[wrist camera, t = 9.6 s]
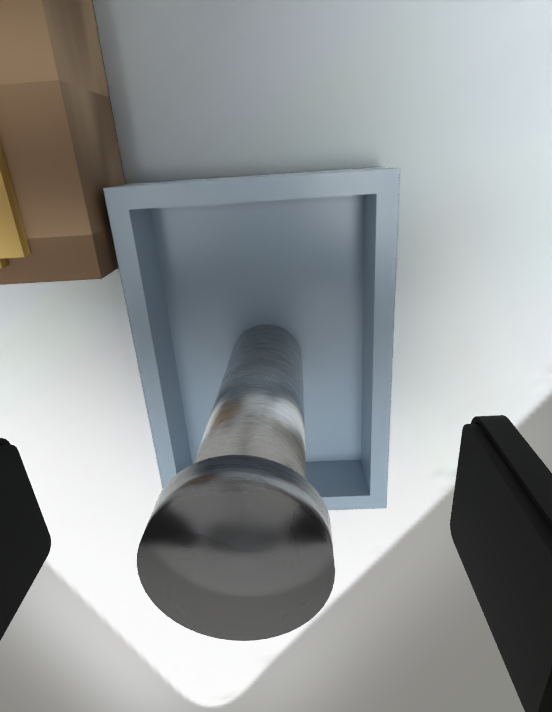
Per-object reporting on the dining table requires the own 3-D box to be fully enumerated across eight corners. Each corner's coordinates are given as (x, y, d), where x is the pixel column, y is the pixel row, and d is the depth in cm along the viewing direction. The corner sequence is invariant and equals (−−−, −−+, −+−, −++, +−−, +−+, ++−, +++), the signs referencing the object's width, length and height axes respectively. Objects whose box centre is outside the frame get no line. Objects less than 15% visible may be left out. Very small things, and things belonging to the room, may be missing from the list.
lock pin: (215, 315, 19) (119, 494, 9) (312, 310, 19) (333, 489, 8) (225, 401, 21) (153, 641, 10) (315, 398, 20) (336, 640, 10)
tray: (132, 183, 18) (103, 188, 15) (381, 166, 17) (400, 168, 14) (182, 471, 23) (167, 515, 20) (373, 463, 22) (386, 508, 20)
